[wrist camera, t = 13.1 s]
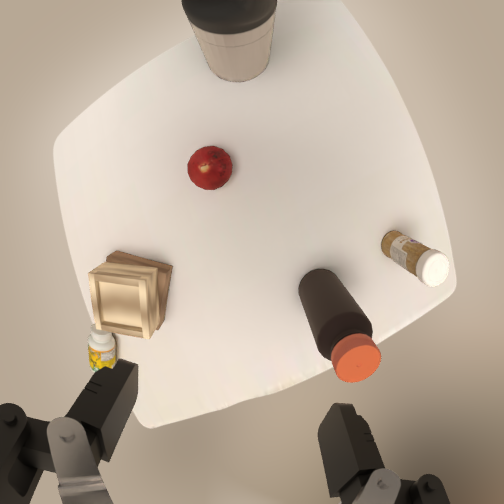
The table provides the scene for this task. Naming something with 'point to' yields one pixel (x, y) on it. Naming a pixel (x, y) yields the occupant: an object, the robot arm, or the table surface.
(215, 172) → the onion
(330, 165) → the table surface
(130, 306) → the tower top
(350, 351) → the vinegar
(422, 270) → the sprinkles bottle
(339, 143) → the table surface
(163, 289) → the tower base
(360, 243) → the table surface
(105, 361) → the supplement bottle
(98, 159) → the table surface
